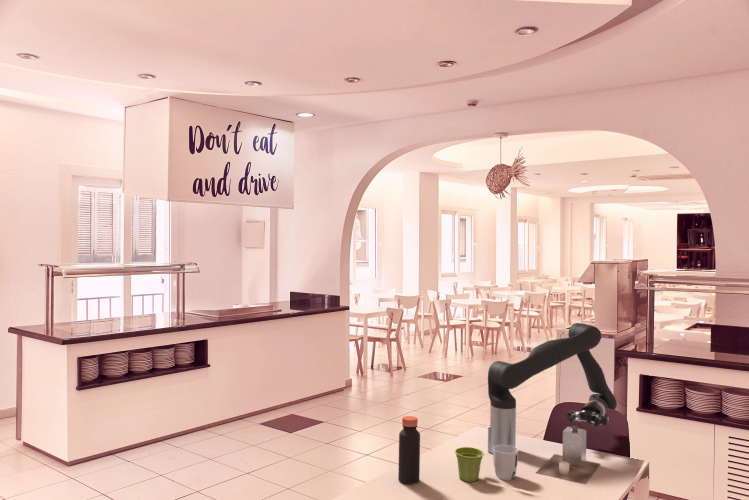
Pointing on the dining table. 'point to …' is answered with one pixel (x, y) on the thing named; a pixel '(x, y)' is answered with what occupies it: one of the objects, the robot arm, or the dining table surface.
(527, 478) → the dining table surface
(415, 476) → the bottle
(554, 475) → the walnut board
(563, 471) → the beige cylinder
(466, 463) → the plant pot
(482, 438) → the dining table surface
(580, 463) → the steel cover
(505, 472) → the cup
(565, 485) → the dining table surface
